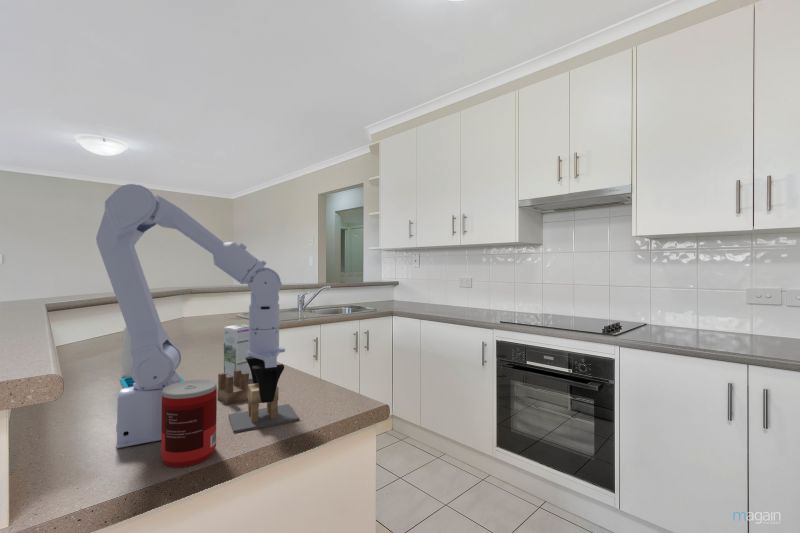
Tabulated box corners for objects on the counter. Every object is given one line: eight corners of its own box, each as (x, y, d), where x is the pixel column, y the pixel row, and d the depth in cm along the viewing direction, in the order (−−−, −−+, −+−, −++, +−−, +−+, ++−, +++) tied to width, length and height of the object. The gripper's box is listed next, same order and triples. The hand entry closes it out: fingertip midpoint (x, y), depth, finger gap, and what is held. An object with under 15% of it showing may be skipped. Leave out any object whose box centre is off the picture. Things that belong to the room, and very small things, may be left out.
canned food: (203, 439, 65) (203, 376, 66) (225, 454, 60) (225, 385, 60) (153, 456, 59) (153, 387, 60) (172, 474, 54) (173, 397, 55)
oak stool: (278, 418, 74) (278, 387, 74) (251, 423, 72) (251, 391, 72) (273, 409, 78) (273, 380, 78) (247, 414, 76) (247, 384, 76)
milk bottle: (142, 378, 102) (143, 304, 102) (114, 378, 102) (115, 304, 102) (161, 370, 110) (161, 302, 110) (135, 370, 110) (135, 302, 110)
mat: (233, 432, 68) (233, 430, 68) (228, 416, 76) (228, 414, 76) (299, 420, 74) (299, 418, 74) (288, 405, 82) (288, 403, 82)
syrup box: (255, 378, 102) (255, 325, 103) (235, 384, 97) (235, 328, 98) (242, 375, 105) (242, 323, 106) (222, 380, 100) (222, 326, 101)
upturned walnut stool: (227, 405, 83) (227, 377, 83) (217, 400, 86) (217, 373, 86) (249, 399, 86) (249, 373, 86) (238, 394, 90) (239, 369, 90)
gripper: (293, 331, 71) (293, 403, 71) (277, 322, 83) (276, 383, 83) (253, 334, 67) (253, 410, 67) (243, 324, 80) (242, 388, 80)
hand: (263, 395), depth 75 cm, fingers open, 7 cm apart
